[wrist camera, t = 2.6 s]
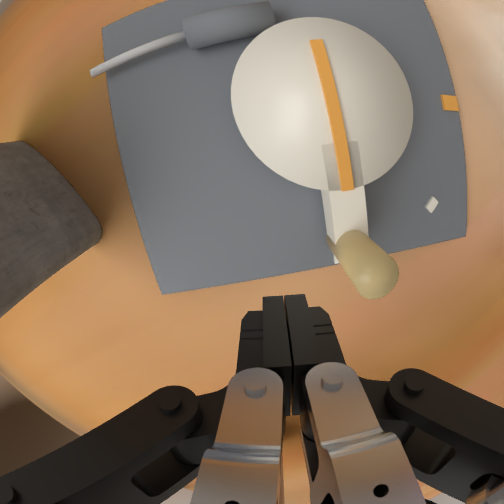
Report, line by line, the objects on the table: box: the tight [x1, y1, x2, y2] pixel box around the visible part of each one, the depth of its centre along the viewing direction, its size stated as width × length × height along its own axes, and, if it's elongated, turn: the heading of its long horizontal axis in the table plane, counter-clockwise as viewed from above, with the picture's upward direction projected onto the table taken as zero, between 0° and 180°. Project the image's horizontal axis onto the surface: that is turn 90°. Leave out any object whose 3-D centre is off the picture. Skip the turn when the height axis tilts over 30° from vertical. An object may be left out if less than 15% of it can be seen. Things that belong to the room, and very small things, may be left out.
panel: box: [102, 0, 467, 295], centre depth 18 cm, size 25×29×2 cm
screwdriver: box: [90, 1, 276, 77], centre depth 14 cm, size 14×3×3 cm
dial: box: [231, 17, 413, 299], centre depth 14 cm, size 17×12×7 cm
